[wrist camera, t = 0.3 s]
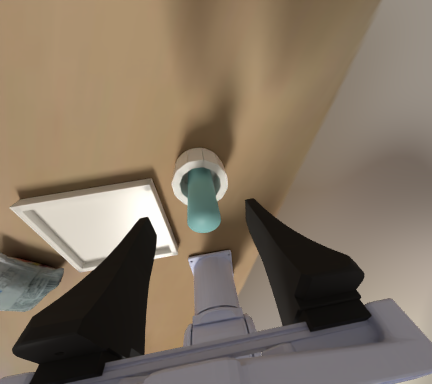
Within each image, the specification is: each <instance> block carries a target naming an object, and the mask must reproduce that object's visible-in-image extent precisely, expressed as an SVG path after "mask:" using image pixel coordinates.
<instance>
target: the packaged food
mask: <svg viewBox="0 0 432 384" xmlns="http://www.w3.org/2000/svg"><path fill="white" fill-rule="evenodd" d="M63 273H64V268H59V269H54V268H52V267H50V266H46V265H43V264H39V263H35V262H31V261H27V260H23V259H18V258H13V257H7V256H6V255H4V254H3V253H0V311H22V312H25V311H28V310H31V309H32V308H33V307H35V306H36V305H37V304H38V303H39V302H40V301H41V300H42V299H43V298H44V297H45V296H46V295H47V294H48V293H49V292H50V291H51V290H53V289H55V288H56V287H57V286H58V285H59V283H60V282H61V279H62V277H63Z"/></svg>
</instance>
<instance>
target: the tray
mask: <svg viewBox="0 0 432 384" xmlns="http://www.w3.org/2000/svg"><path fill="white" fill-rule="evenodd" d="M9 208H10V209H11V210H12V211H14V212H15V213H16V214H17V215H18V216H19V217H20V218H21V219H22V220H23V221H24V222H25V223H27V224H28V225H29V226H30V227H31V228H32V229H33V230H34V231H35V232H36V233H37V234H38V235H40V236H41V237H42V238H43V239H44V240H45V241H46V242H47V243H48V244H49V245H50V246H52V247H53V248H54V249H55V250H56V251H57V252H58V253H59V254H60V255H61V256H62V257H63V258H65V259H66V260H67V261H68V262H69V263H70V264H71V265H72V266H73V267H74V268H75V269H76V270H78V271H79V272H85V271H90V270H94V269H95V268H96V267H97V266H98V265H99V264H100V263H101V262H103V261H104V260H105V259H106V258H107V256H108V255H109V254H110V253H111V252H112V251H113V250H114V249H115V248H116V247H117V245H118V244H119V243H120V242H121V241H122V240H123V238H124V237H125V236H126V235H127V233H128V232H129V231H130V230H131V228H132V227H133V226H134V225H135V223H136V222H137V221H138V220H139V218H143V217H149V219H150V221H151V224H152V226H153V228H154V230H155V232H156V234H157V245H156V252H155V257H154V259H156V258H162V257H167V256H173V255H178V245H177V242H176V240H175V237H174V235H173V232H172V229H171V227H170V224H169V222H168V219H167V217H166V214H165V211H164V209H163V206H162V204H161V201H160V198H159V196H158V193H157V191H156V188H155V186H154V183H153V180H152V178H149V179H143V180H137V181H131V182H125V183H119V184H112V185H106V186H100V187H94V188H88V189H82V190H75V191H69V192H63V193H57V194H51V195H45V196H38V197H32V198H26V199H20V200H18V201H17V202H16V203H14V204H13V205H12V206H10V207H9Z"/></svg>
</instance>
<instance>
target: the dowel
mask: <svg viewBox="0 0 432 384" xmlns="http://www.w3.org/2000/svg"><path fill="white" fill-rule="evenodd" d="M187 222H188V226H189V227H190V229H192V230H193V231H195V232H199V233H207V232H211V231H213V230H215V229H216V228H217V227H218V226H219V225H220V222H221V217H220V212H219V208H218V203H217V199H216V194H215V190H214V185H213V181H212V176H211V172H210V169H207V168H204V167H201V168H194V169H191V170H189V171H188V219H187Z"/></svg>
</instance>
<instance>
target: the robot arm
mask: <svg viewBox="0 0 432 384" xmlns="http://www.w3.org/2000/svg"><path fill="white" fill-rule="evenodd" d="M245 209H246V222H247V226H248V229H249V232H250V234H251V236H252V239H253V241H254V243H255V245H256V247H257V250H258V252H259V254H260V256H261V259H262V261H263V264H264V267H265V270H266V273H267V276H268V279H269V282H270V285H271V288H272V291H273V294H274V298H275V301H276V304H277V308H278V311H279V314H280V318H281V321H282V325H283V326H282V327H277V328H272V329H268V330H262V331H258V332H256V329H255V325H254V323H253V320H252V318H251V317H250V316H248V314H247V313H246V314H243V312H242V308H241V307H240V306H239V301H238V297H237V292H236V288H235V283H234V279H233V266H232V256H231V250H225V251H219V252H214V253H208V254H203V255H197V256H192V257H189V258H188V261H189V264H190V267H191V270H192V272H193V275H194V303H195V316H193V324H189V325H188V327H187V329H186V330H185V334H184V347H180V348H175V349H170V350H165V351H160V352H156V353H151V354H146V355H144V352H145V325H146V310H147V298H148V288H149V281H150V276H151V271H152V266H153V262H154V257H155V252H156V245H157V234H156V232H155V230H154V228H153V226H152V224H151V221H150V219H149V217H143V218H139V220H138V221H137V222H136V223H135V225H134V226H133V227H132V228H131V230H130V231H129V232H128V233H127V235H126V236H125V237H124V238H123V240H122V241H121V242H120V243H119V244H118V245H117V247H116V248H115V249H114V250H113V251H112V252H111V253H110V254H109V255H108V256H107V258H106V259H105V260H104V261H103V262H101V263H100V264H99V265H98V266H97V267H96V268H95V269H94V270H93V271H92V272H91V273H90V274H88V275H87V276H86V277H85V278H84V279H83V280H82V281H80V282H79V283H78V284H77V285H76V286H74V287H73V288H72V289H71V290H69V291H68V292H67V293H65V294H64V295H63V296H61V297H60V298H59V299H57V300H56V301H55V302H53V303H52V304H50V305H49V306H48V307H46V308H45V309H43V310H42V311H40V312H39V313H38V314H36V315H35V316H33V317H32V319H31V320H30V322H29V323H28V325H27V326H26V328H25V330H24V331H23V333H22V334H21V336H20V337H19V339H18V340H17V342H16V344H15V345H14V347H13V348H12V352H13V354H14V355H15V356H17V357H20V358H22V359H26V360H29V361H32V362H35V363H38V364H39V366H38V368H37V370H36V372H28V373H22V374H17V375H12V376H7V377H3V378H2V379H0V384H395V383H399V382H404V381H408V380H412V379H416V378H419V377H423V376H426V375H429V374H432V342H431V341H430V340H429V339H428V338H427V337H426V336H425V335H424V334H423V332H422V331H421V330H420V329H419V328H418V327H417V326H416V325H415V324H414V322H413V321H412V320H411V319H410V318H409V317H408V316H407V315H406V314H405V312H404V311H403V310H402V309H401V308H400V307H399V306H398V305H397V304H396V303H395V301H394V300H393V299H390V298H388V299H383V300H379V301H373V302H369V303H367V304H365V305H363V303H362V302H361V301H360V298H361V295H360V294H359V293H358V292H357V290H356V289H357V288H358V286H359V285H360V284H361V282H362V281H363V279H364V272H363V271H362V270H361V269H360V268H359V267H358V265H357V264H356V263H355V262H354V261H353V260H352V259H351V258H350V257H349V256H347V255H345V254H343V253H340V252H337V251H335V250H332V249H330V248H327V247H325V246H323V245H321V244H318V243H316V242H314V241H312V240H310V239H308V238H306V237H304V236H303V235H301V234H299V233H297V232H296V231H294V230H292V229H291V228H289V227H288V226H286V225H285V224H283V223H282V222H280V221H279V220H278V219H277V218H275V217H274V216H273V215H272V214H270V213H269V212H268V211H267V210H266V209H265V208H263V207H262V206H261V205H260V204H259V203H258V202H257V201H256V200H255V199H254V198H253V199H247V200H245ZM261 352H262V356H261Z"/></svg>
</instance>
